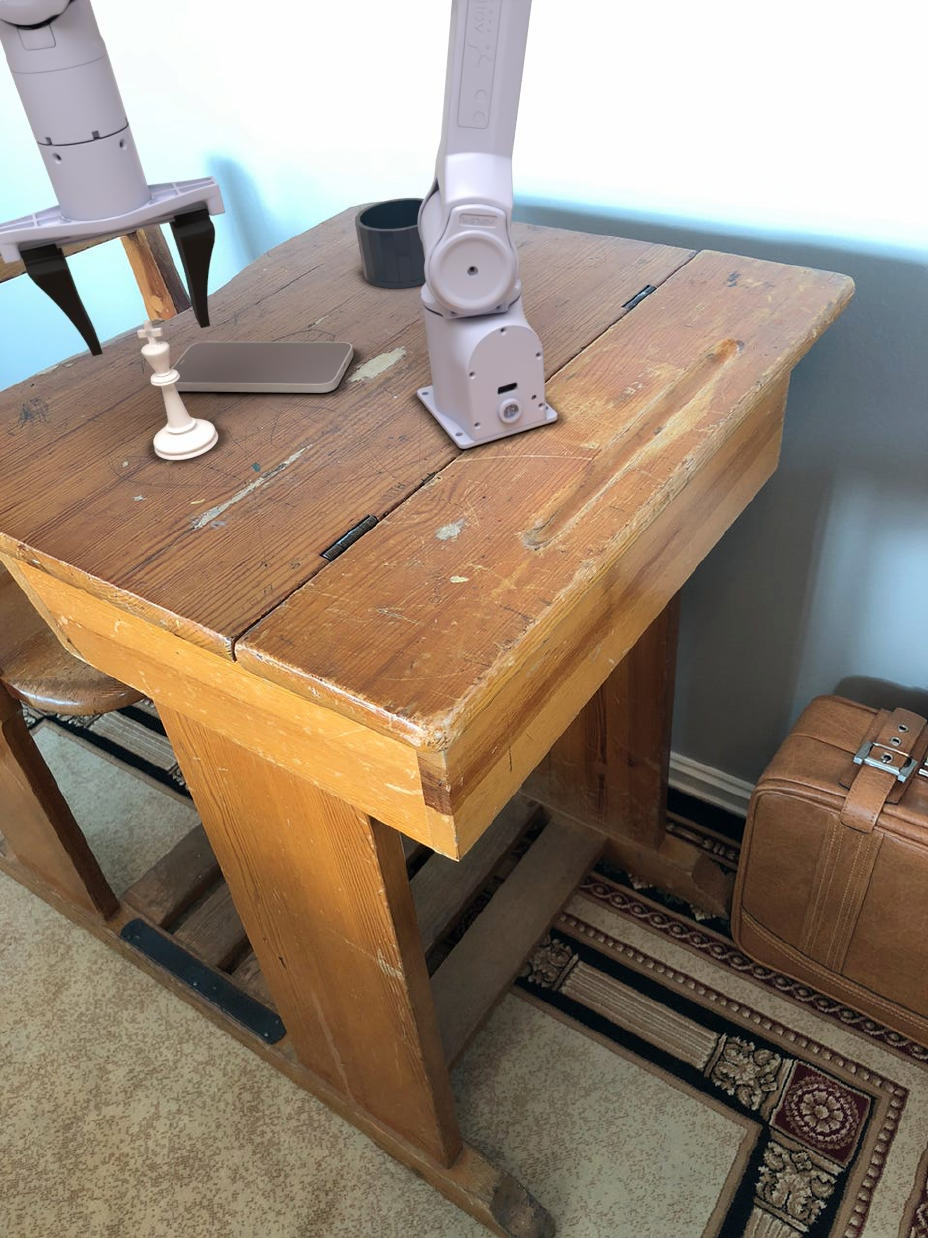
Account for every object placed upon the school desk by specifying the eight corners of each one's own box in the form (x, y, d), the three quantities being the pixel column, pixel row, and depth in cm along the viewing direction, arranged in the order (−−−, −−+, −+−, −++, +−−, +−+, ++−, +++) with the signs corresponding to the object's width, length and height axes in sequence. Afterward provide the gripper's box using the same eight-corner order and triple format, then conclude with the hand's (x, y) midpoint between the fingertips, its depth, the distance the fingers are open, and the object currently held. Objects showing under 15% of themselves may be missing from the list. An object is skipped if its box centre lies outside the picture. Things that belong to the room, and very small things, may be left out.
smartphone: (332, 384, 78) (159, 382, 81) (334, 395, 79) (163, 392, 81) (355, 341, 83) (192, 341, 86) (357, 351, 84) (195, 350, 87)
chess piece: (210, 458, 73) (171, 334, 67) (147, 462, 74) (102, 340, 67) (224, 423, 77) (188, 303, 70) (163, 428, 77) (122, 309, 71)
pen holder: (461, 274, 94) (455, 216, 90) (380, 295, 92) (371, 237, 89) (430, 246, 100) (423, 191, 96) (353, 266, 98) (343, 210, 94)
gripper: (186, 94, 65) (236, 290, 74) (-40, 140, 61) (42, 339, 71) (206, 118, 60) (258, 325, 69) (-38, 169, 56) (50, 380, 66)
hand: (150, 335), depth 69 cm, fingers open, 7 cm apart
